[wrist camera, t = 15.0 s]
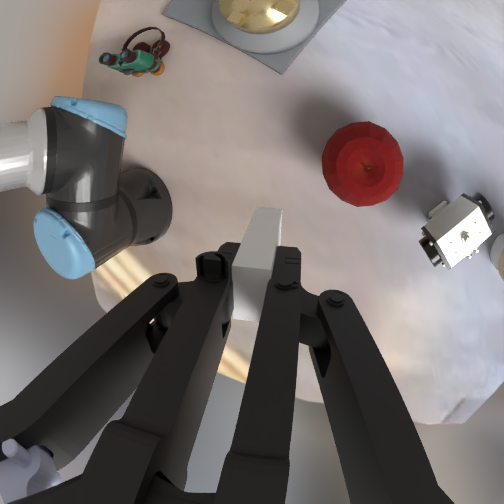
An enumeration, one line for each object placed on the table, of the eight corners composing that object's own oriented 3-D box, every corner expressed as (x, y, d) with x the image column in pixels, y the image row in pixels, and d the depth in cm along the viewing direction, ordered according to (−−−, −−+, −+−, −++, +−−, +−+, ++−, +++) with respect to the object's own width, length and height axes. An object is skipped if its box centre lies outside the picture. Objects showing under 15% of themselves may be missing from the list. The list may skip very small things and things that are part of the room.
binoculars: (145, 11, 28) (129, 66, 32) (177, 32, 38) (166, 80, 42) (105, 22, 30) (90, 72, 34) (139, 38, 40) (128, 82, 43)
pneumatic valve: (406, 224, 40) (426, 253, 30) (458, 181, 35) (492, 198, 24) (423, 249, 41) (444, 284, 30) (473, 209, 36) (507, 233, 25)
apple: (355, 110, 36) (363, 100, 26) (406, 160, 37) (430, 169, 26) (309, 162, 41) (300, 170, 31) (360, 209, 42) (367, 233, 32)
